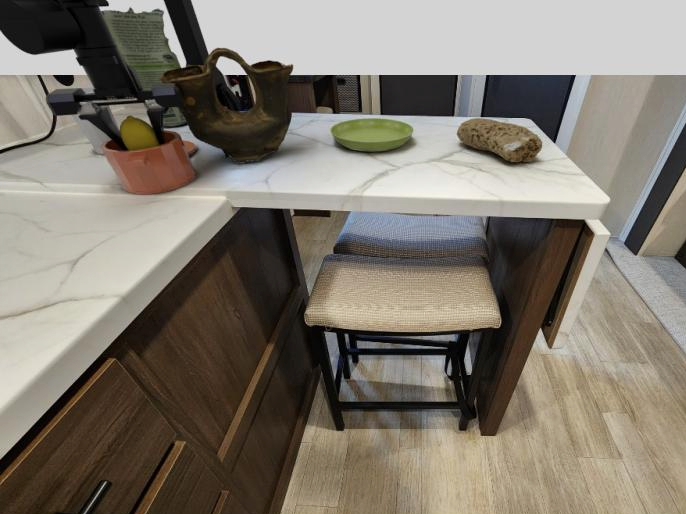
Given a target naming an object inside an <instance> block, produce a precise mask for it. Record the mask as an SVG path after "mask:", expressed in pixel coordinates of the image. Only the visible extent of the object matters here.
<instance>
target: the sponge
mask: <svg viewBox="0 0 686 514" xmlns="http://www.w3.org/2000/svg"><path fill="white" fill-rule="evenodd" d="M456 136H457V138H458V139H459V141H460V142H462V143H463V144H465V145H467V146H469V147H470V148H471V147H472V148H473V149H477V150H481V151H484V152H485V151H486V152H491V153H492V152H493V153H495V154H496V155H498V156H500V157H502V158H503V159H504V160H505V161H508V162H511V163H519V162H523V163H530V162H532V161H533V160H535V158H537V156H538V154H539V153H540V152H541V151H542V148H543V141H542V139H541V138H540V137H539V135H538V134H536V133H534V132H533V131H532V130H530V129H529V128H527V127H525V126H522V125H517V124H515V123H508V122H503V121H498V120H495V119H490V118H481V117H477V118H475V117H474V118H470V119H468V120H465V121H464V122H462V123H460V125H459V126H458V128H457V131H456Z"/></svg>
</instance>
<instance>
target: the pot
mask: <svg viewBox="0 0 686 514" xmlns="http://www.w3.org/2000/svg"><path fill="white" fill-rule="evenodd" d="M164 138H165V144H163V145H160V146H157V147H152V148H147V149H141V150H132V151H124V150H123V149H122V148H120V147H119V146H118V145H117V144H116V143H115V142H114V141H113V140H112V139H111V138H110V139H108V140H106V141H104V142H103V143H102V144H101V145H100V146H99V147H100V149H101V150H102V152H103V154H102V155H103V156H104V157H105V159H106V160H107V162H108V164H109V165H110V169H111V170H112V171H113V173H114V175H115V176H116V178H117V180H118V181H119V183H120V185H121V186H122V187H123V189H124V190H125V192H128V193H130V194H135V195H155V194H162V193H165V192H171V191H173V190H177V189H180V188H182V187H185V186H188V185H189V184H191V182H193V181H194V180H195V179H196V177H197V173H196V169H195V167H194V165H193V162H192V160H191V157H190V154H189V155H188V153H187V150H186V148H185V145H184V143H183V141H182V140H183V139H182V136H181V134H180V133H178V132H177V131H173V130H165V129H164Z"/></svg>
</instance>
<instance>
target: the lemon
mask: <svg viewBox="0 0 686 514" xmlns="http://www.w3.org/2000/svg"><path fill="white" fill-rule="evenodd" d="M119 130H120V134H121V138H122V140H123V143H124V144H125V146H126V147H127V149H128V150H129V151H132V150H141V149H147V148H152V147H157V146H160V144H159V142H158V140H157V137H156V135H155V132H154V130H153V128H152V127H151V126H150V123H148V122H147V121H145V120H143V119H141V118H138V117H135V116H133V115H127V116H126V118H125V119H123V120H122V122H121V123H120V126H119Z"/></svg>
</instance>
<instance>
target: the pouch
mask: <svg viewBox="0 0 686 514" xmlns="http://www.w3.org/2000/svg"><path fill="white" fill-rule="evenodd" d="M101 12H102V14H103V17H104V19H105V21H106V23H107V25H108V27H109V30H110V32H111V34H112V36H113V38H114V40H115V43H116V45H117V47H118V49H119V51H120V52H121V54H122V56H123V57H124V59H125V61H126V63H127V64H128V65H130V66H131V67H132V68H134V69H135V70H136V71H137V74H138V77H139V79H140V82H141V85H142V87H143V90H151V88H152V87H153V85H154V84H159V83H163V82H162V81H161V80H160V79H159V78H161V77H162V73H164V72H166V71H169V70H174V69H177V68H182V66H181V64H180V61H179V58H178V55H177V54H175V52H174V51H172V50H171V47H170V44H169V41H170V39H169V38H168V37H167V36H166V34H165V23H164V14H165V10H162V9H160V8H159V7H157V8H155V9H153V10H151V11H141V12H135V11H134V9H133V7H131V6H129V8H128V10H127V11H120V10H115V9H113V10H111V9H104V10H101ZM142 105H143V106H144V108H145V110H146V111H147V110H148V108H149V106H148V105H147V104H146V103H142ZM184 124H187V121H186V119H185V117H184V116H183V114H182V113H181V111H180V109H179V107H170V108H169V109H168V111H167V113H165V114H163V127H177V126H180V125H184Z"/></svg>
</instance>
